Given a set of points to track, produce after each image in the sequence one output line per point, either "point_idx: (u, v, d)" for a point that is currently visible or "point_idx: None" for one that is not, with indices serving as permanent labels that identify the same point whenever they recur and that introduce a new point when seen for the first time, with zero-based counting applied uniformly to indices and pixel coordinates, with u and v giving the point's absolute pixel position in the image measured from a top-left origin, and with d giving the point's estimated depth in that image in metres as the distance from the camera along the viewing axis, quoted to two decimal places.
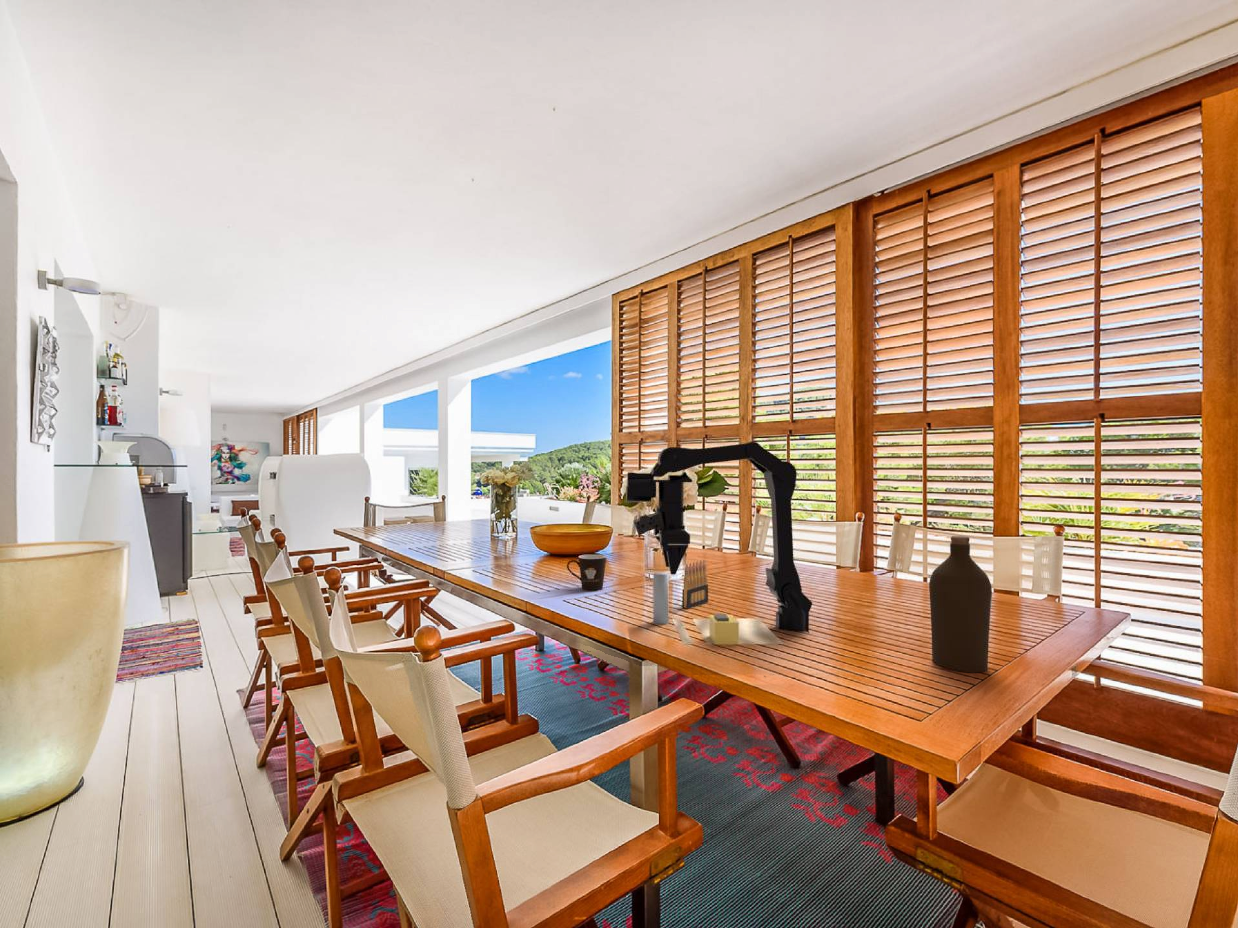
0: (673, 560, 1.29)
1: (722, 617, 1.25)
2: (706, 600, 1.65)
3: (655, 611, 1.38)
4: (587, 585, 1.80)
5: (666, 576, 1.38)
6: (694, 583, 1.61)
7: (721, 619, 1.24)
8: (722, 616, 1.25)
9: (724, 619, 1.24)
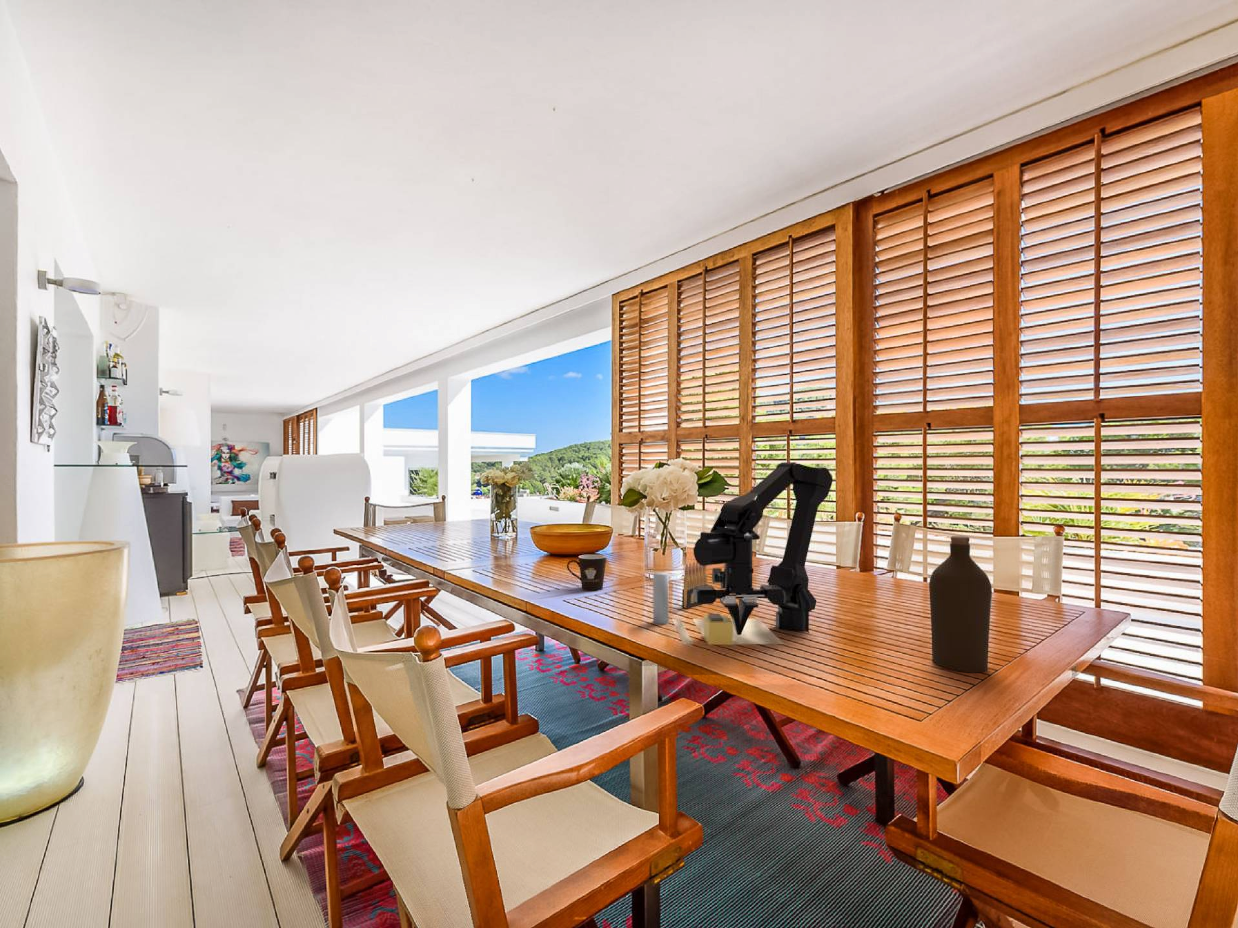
0: (732, 619, 1.26)
1: (716, 617, 1.25)
2: None
3: (655, 611, 1.38)
4: (587, 585, 1.80)
5: (666, 576, 1.38)
6: (694, 583, 1.61)
7: (715, 619, 1.24)
8: (716, 616, 1.25)
9: (718, 619, 1.24)
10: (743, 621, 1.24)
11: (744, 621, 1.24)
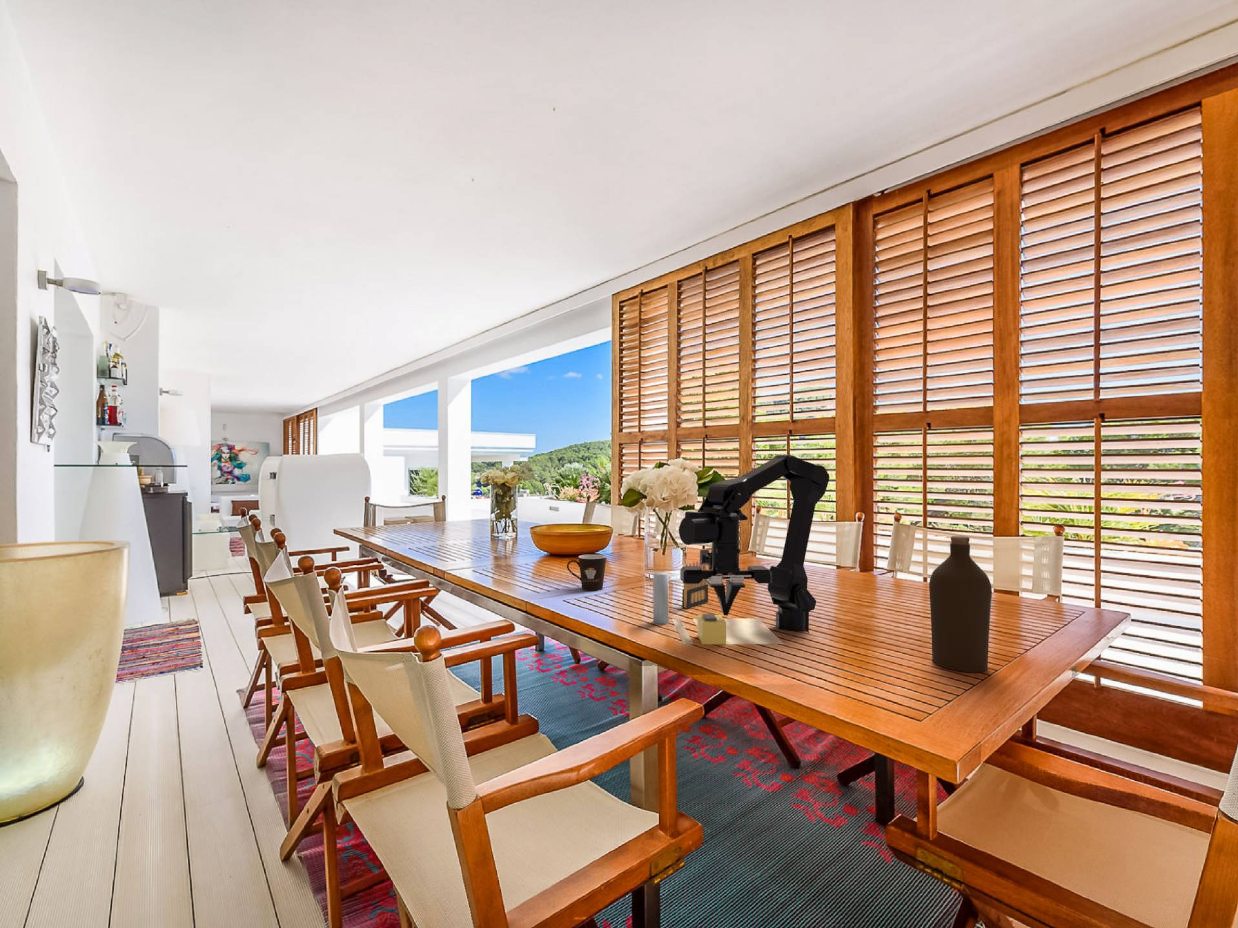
0: (719, 599, 1.26)
1: (710, 617, 1.24)
2: (706, 600, 1.65)
3: (655, 611, 1.38)
4: (587, 585, 1.80)
5: (666, 576, 1.38)
6: None
7: (709, 619, 1.24)
8: (710, 616, 1.25)
9: (712, 619, 1.24)
10: (730, 601, 1.24)
11: (731, 601, 1.24)
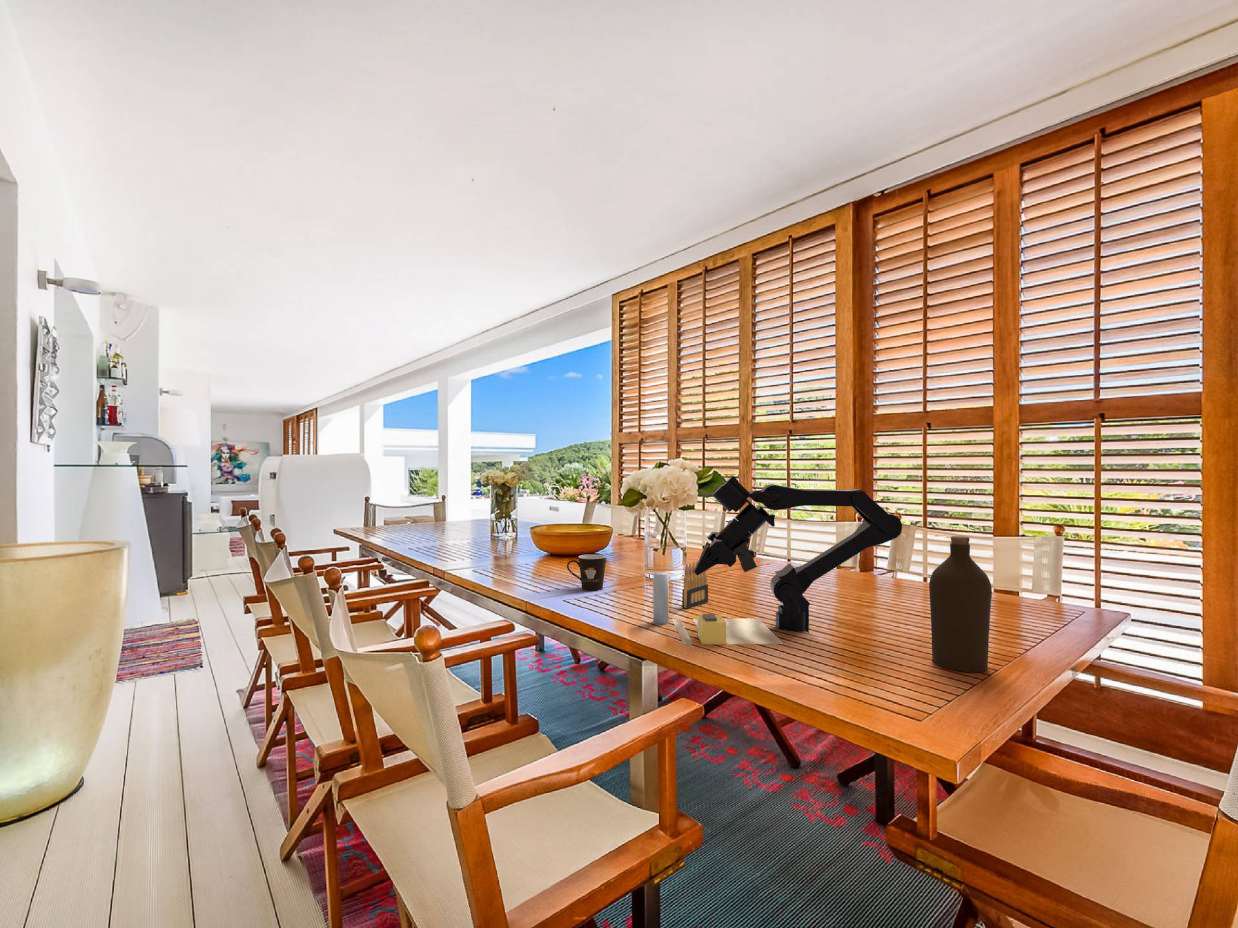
0: None
1: (710, 617, 1.24)
2: (706, 600, 1.65)
3: (655, 611, 1.38)
4: (587, 585, 1.80)
5: (666, 576, 1.38)
6: (694, 583, 1.61)
7: (709, 619, 1.24)
8: (710, 616, 1.25)
9: (712, 619, 1.24)
10: (700, 559, 1.37)
11: (700, 559, 1.36)
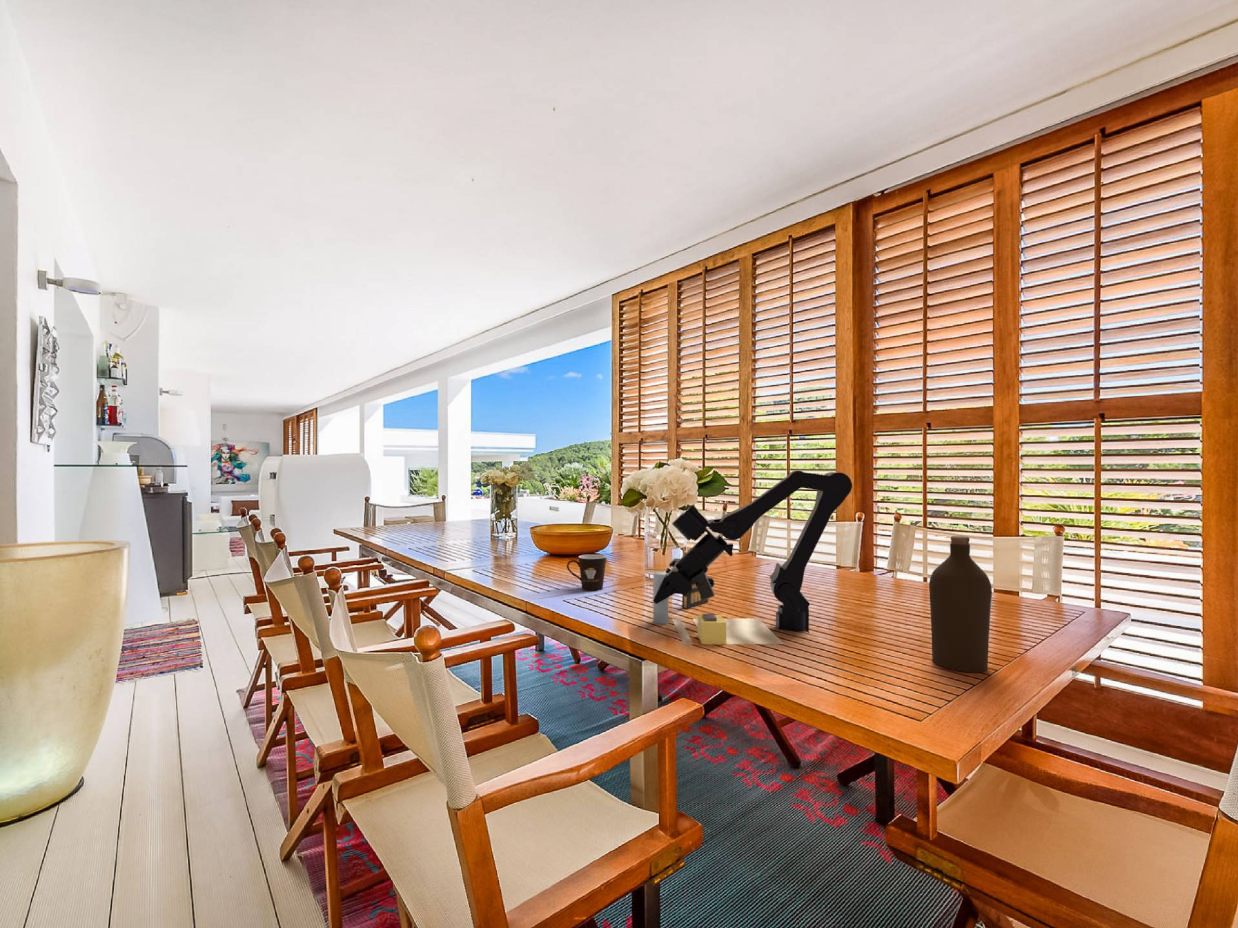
0: None
1: (710, 617, 1.24)
2: (706, 600, 1.65)
3: (655, 611, 1.38)
4: (587, 585, 1.80)
5: None
6: None
7: (709, 619, 1.24)
8: (710, 616, 1.25)
9: (712, 619, 1.24)
10: (659, 588, 1.37)
11: None
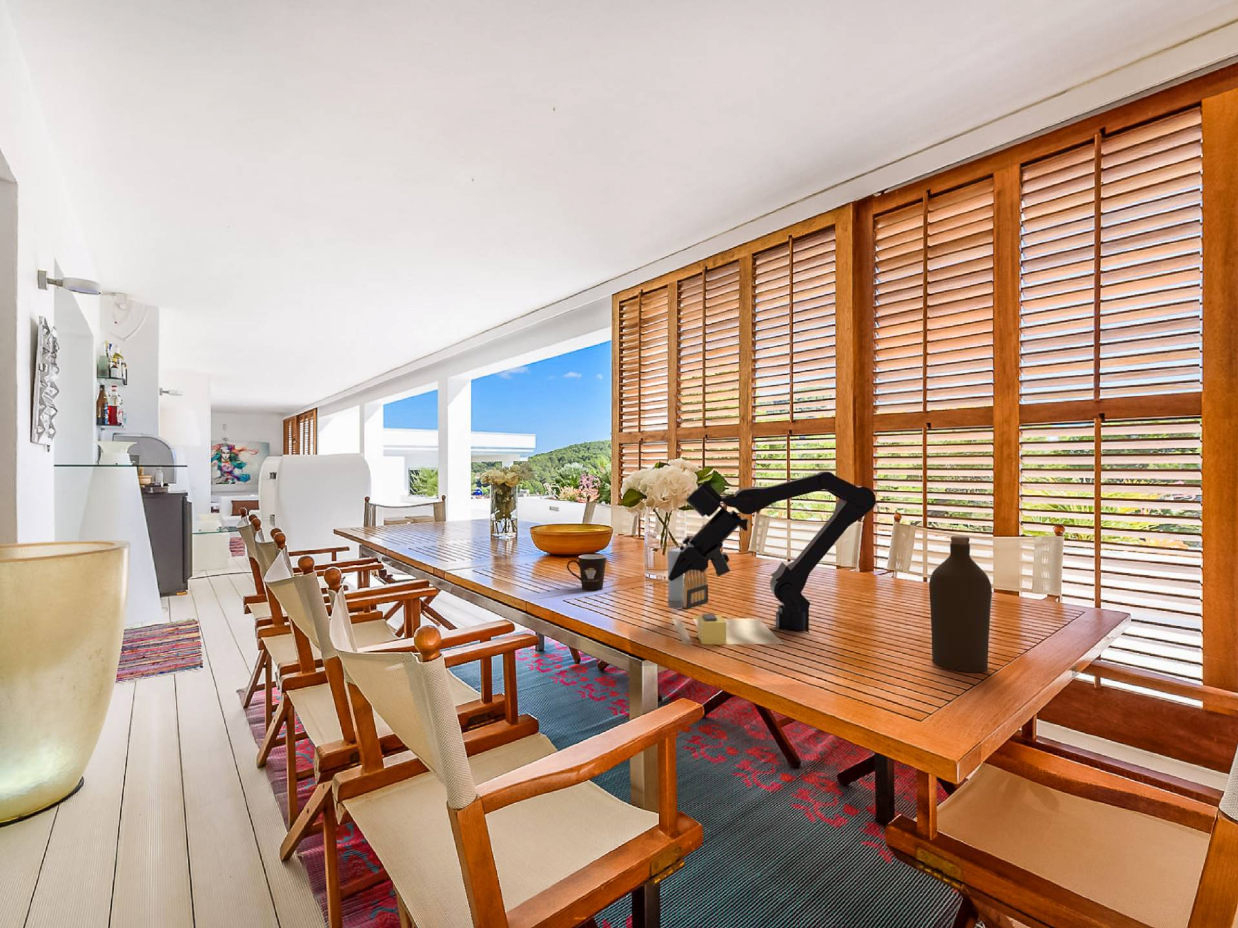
0: None
1: (710, 617, 1.24)
2: (706, 600, 1.65)
3: (670, 588, 1.37)
4: (587, 585, 1.80)
5: None
6: (694, 583, 1.61)
7: (709, 619, 1.24)
8: (710, 616, 1.25)
9: (712, 619, 1.24)
10: (674, 564, 1.36)
11: None
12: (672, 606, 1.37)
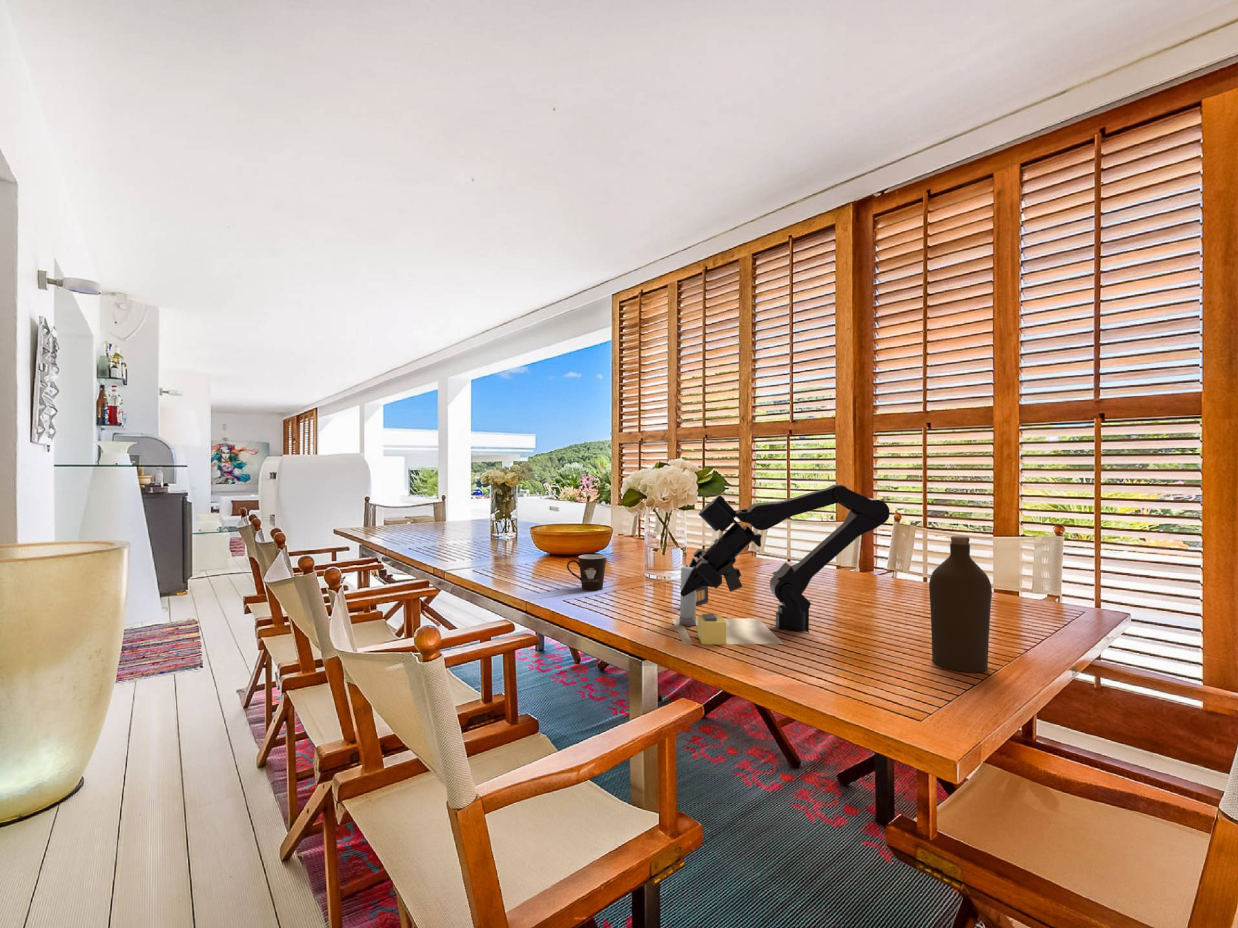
0: None
1: (710, 617, 1.24)
2: (706, 600, 1.65)
3: (682, 605, 1.37)
4: (587, 585, 1.80)
5: None
6: None
7: (709, 619, 1.24)
8: (710, 616, 1.25)
9: (712, 619, 1.24)
10: (686, 580, 1.34)
11: (686, 580, 1.34)
12: (683, 624, 1.36)
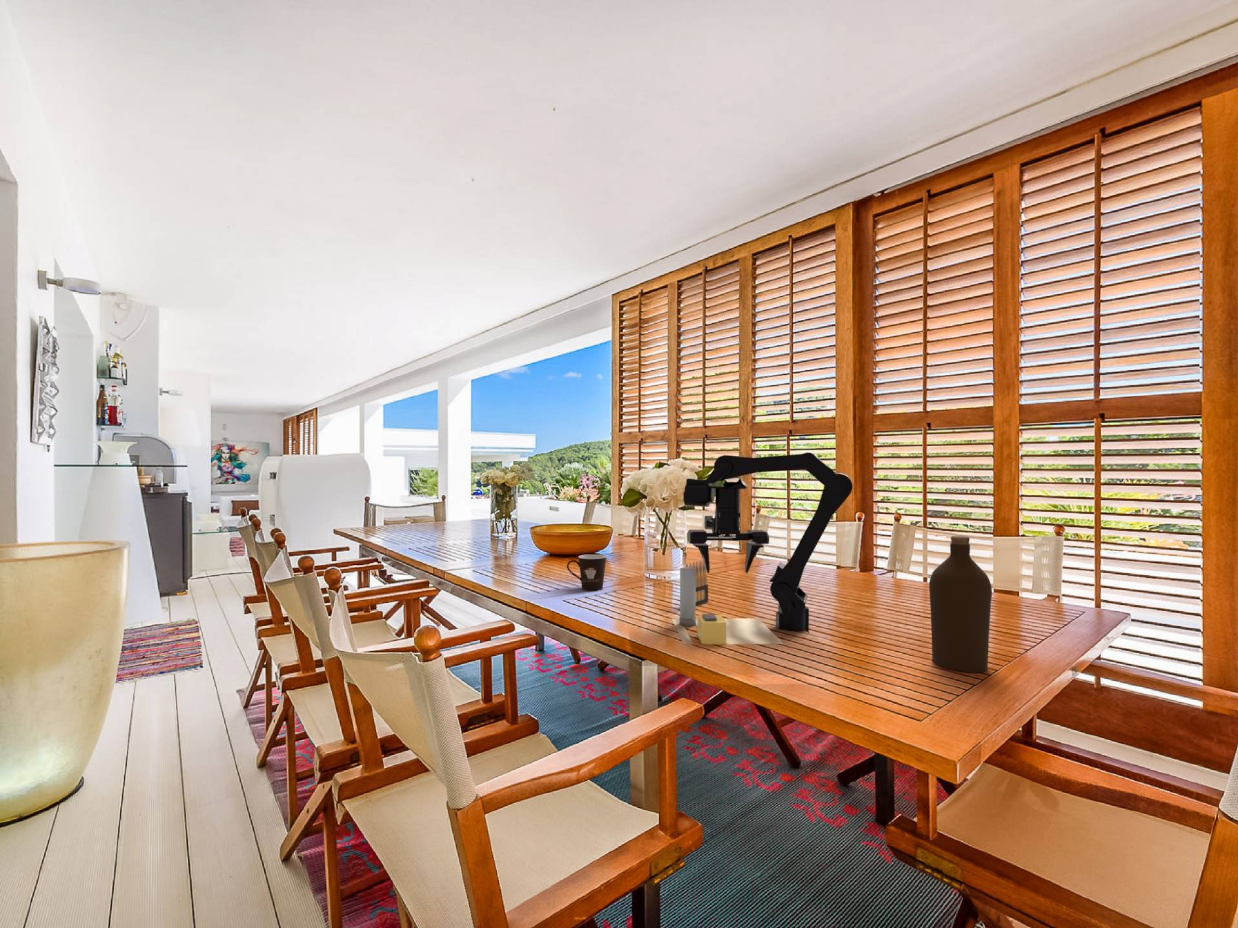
0: (703, 559, 1.41)
1: (710, 617, 1.24)
2: (706, 600, 1.65)
3: (682, 606, 1.37)
4: (587, 585, 1.80)
5: (693, 571, 1.37)
6: None
7: (709, 619, 1.24)
8: (710, 616, 1.25)
9: (712, 619, 1.24)
10: (750, 560, 1.39)
11: (750, 560, 1.39)
12: (683, 624, 1.36)
